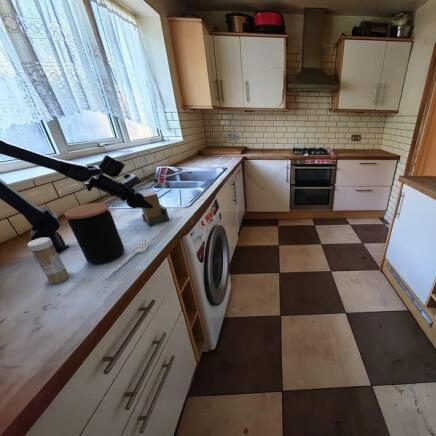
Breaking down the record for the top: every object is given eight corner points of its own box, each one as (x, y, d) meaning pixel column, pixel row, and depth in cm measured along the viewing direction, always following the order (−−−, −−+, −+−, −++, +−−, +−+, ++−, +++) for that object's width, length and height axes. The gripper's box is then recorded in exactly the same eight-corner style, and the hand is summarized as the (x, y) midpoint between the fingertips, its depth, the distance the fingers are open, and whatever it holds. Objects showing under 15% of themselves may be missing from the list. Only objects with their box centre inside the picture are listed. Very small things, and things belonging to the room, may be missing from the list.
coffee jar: (132, 250, 82) (115, 204, 74) (103, 268, 73) (81, 218, 65) (110, 245, 85) (91, 201, 77) (79, 262, 76) (54, 213, 68)
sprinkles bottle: (45, 284, 66) (21, 245, 61) (59, 273, 71) (38, 236, 65) (60, 284, 66) (38, 245, 61) (74, 274, 71) (54, 236, 65)
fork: (101, 279, 68) (98, 274, 68) (143, 243, 86) (142, 239, 85) (111, 279, 68) (109, 274, 67) (152, 244, 86) (150, 239, 85)
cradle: (150, 226, 99) (146, 213, 97) (143, 220, 105) (139, 208, 102) (169, 220, 104) (166, 208, 102) (161, 214, 110) (158, 203, 107)
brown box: (150, 224, 100) (141, 197, 95) (145, 220, 104) (137, 194, 98) (164, 220, 104) (157, 193, 99) (159, 216, 108) (152, 190, 102)
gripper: (129, 173, 84) (167, 194, 96) (116, 165, 95) (152, 184, 107) (111, 199, 82) (152, 216, 94) (100, 187, 94) (138, 205, 106)
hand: (149, 204), depth 100 cm, fingers open, 9 cm apart
